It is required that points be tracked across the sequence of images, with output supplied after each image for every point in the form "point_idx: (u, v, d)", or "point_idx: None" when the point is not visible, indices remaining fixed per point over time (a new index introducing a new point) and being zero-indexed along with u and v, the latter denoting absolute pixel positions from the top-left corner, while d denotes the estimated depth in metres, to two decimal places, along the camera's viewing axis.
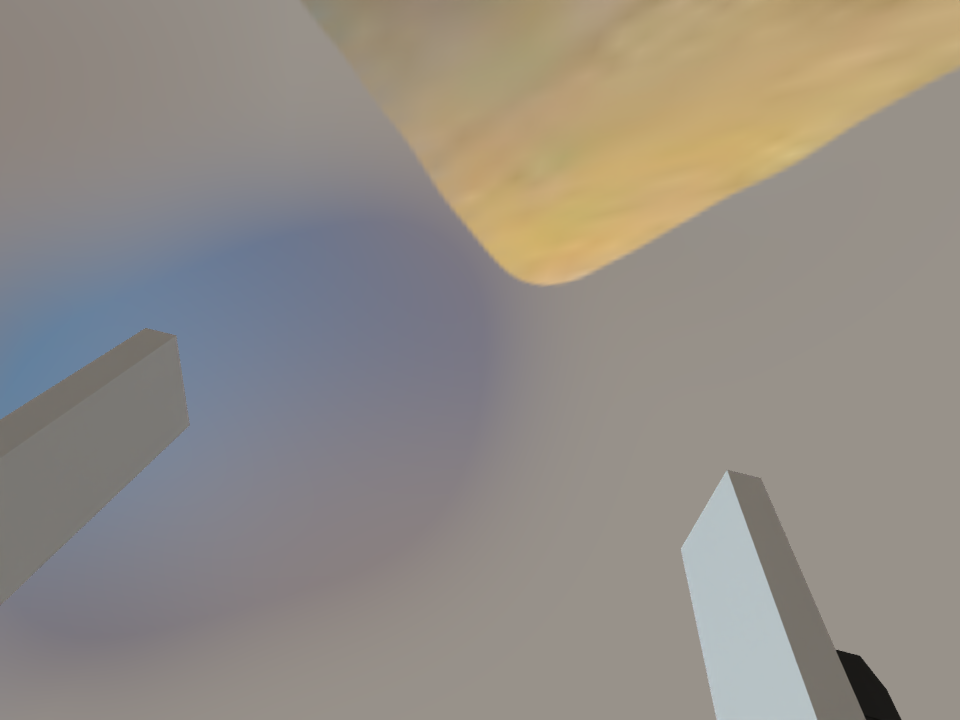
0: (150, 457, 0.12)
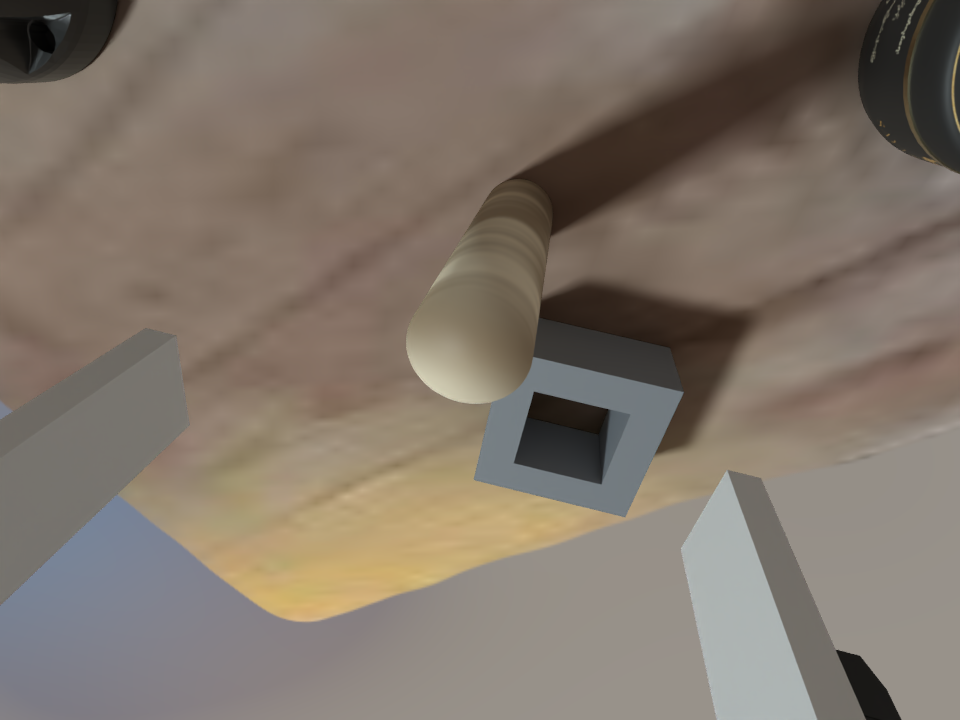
0: (151, 457, 0.12)
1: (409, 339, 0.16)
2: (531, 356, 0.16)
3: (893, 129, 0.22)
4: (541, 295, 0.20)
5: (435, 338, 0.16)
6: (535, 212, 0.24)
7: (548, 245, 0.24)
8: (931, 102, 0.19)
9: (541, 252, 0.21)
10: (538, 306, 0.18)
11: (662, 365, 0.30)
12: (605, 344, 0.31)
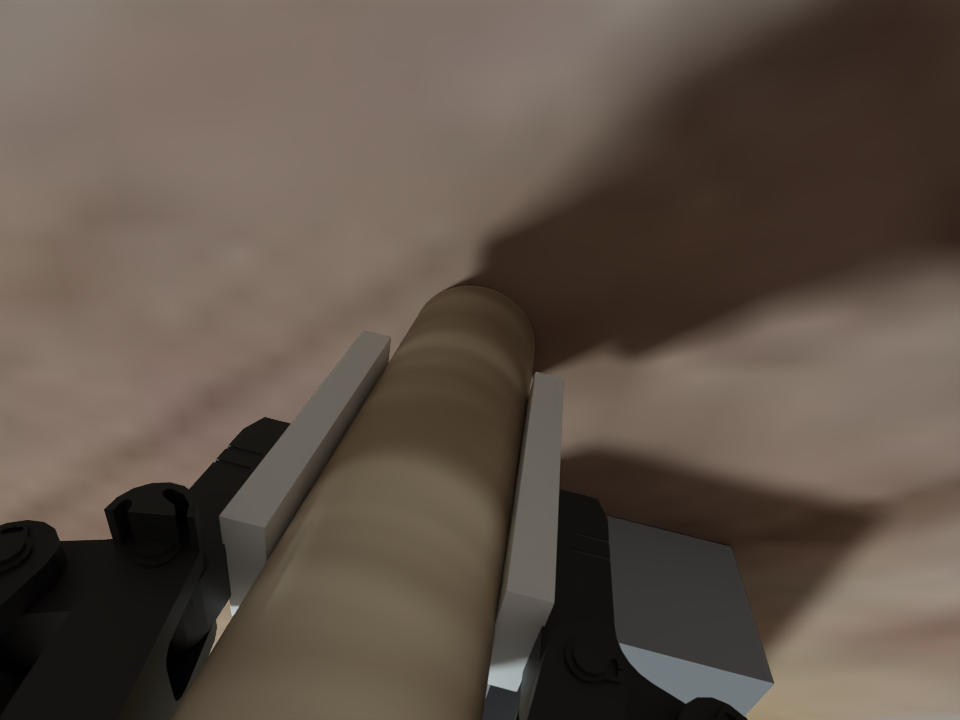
0: None
1: None
2: None
3: None
4: None
5: None
6: (490, 396, 0.12)
7: (517, 464, 0.12)
8: None
9: (489, 556, 0.09)
10: None
11: (725, 600, 0.17)
12: (626, 552, 0.18)
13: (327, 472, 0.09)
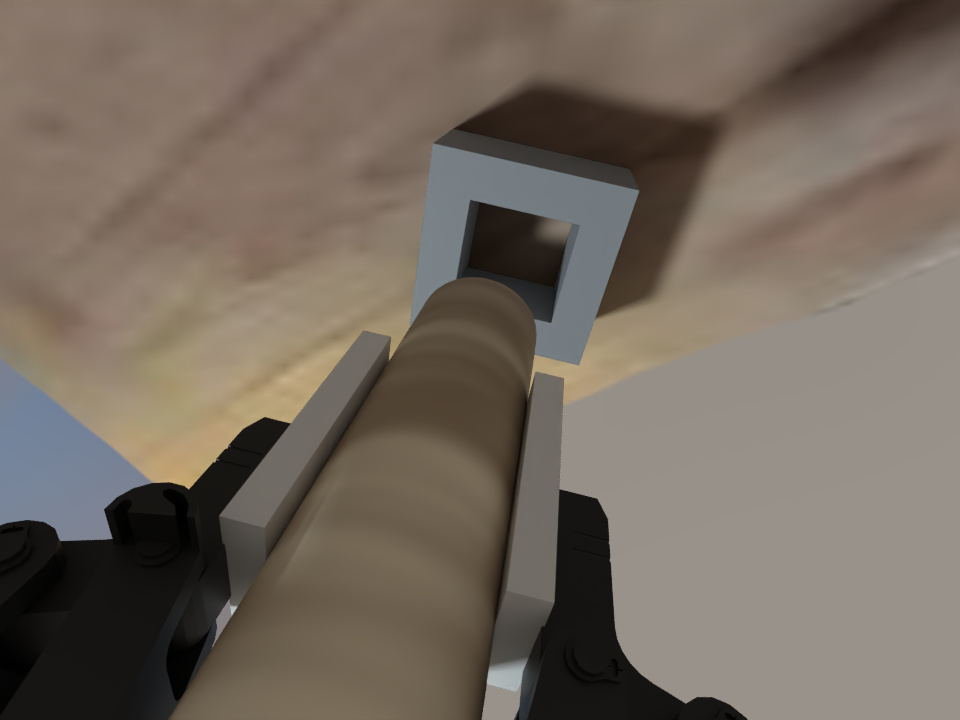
0: None
1: None
2: None
3: None
4: (482, 707, 0.07)
5: None
6: (494, 380, 0.12)
7: (520, 445, 0.12)
8: None
9: (494, 526, 0.09)
10: None
11: (618, 175, 0.27)
12: (555, 157, 0.27)
13: (340, 449, 0.10)
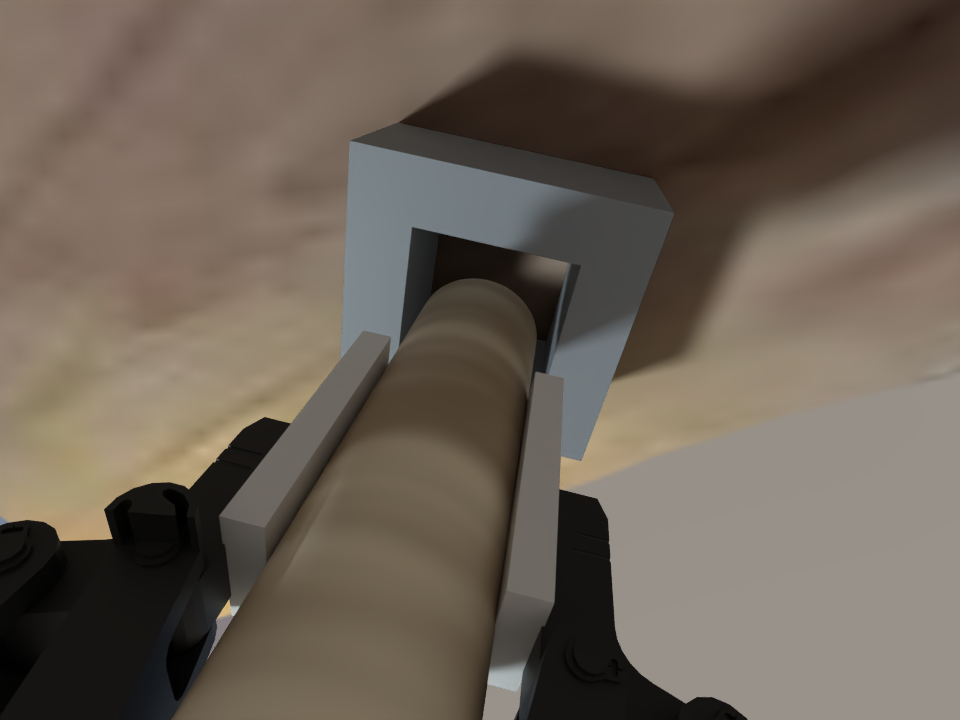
0: None
1: None
2: None
3: None
4: (483, 708, 0.07)
5: None
6: (494, 381, 0.12)
7: (520, 446, 0.12)
8: None
9: (494, 527, 0.09)
10: None
11: (638, 188, 0.18)
12: (544, 162, 0.18)
13: (341, 450, 0.10)
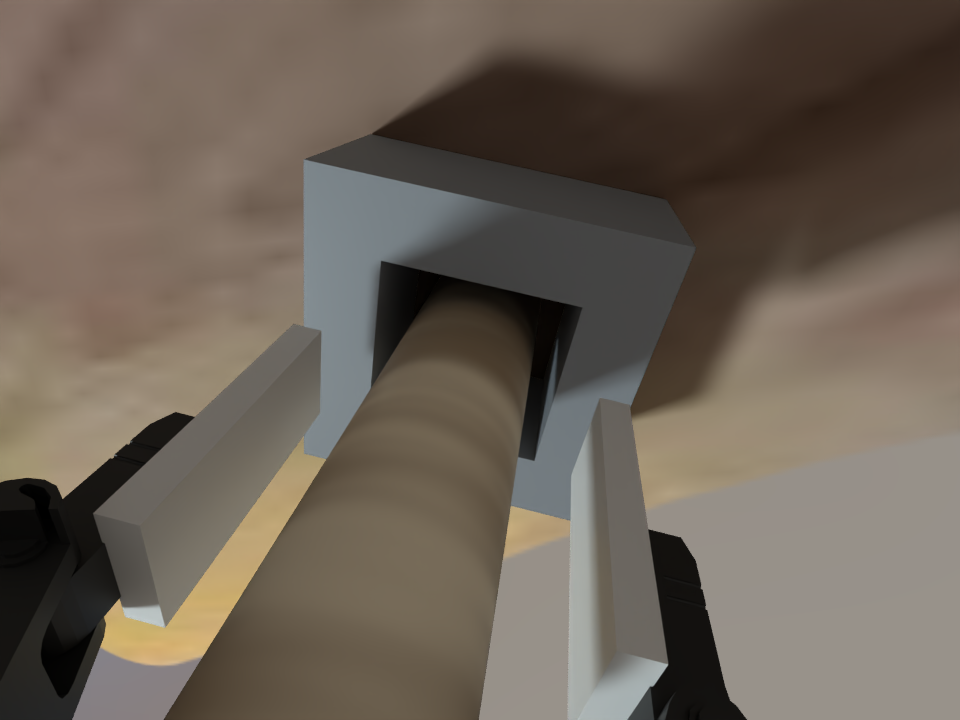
0: (295, 441, 0.14)
1: None
2: None
3: None
4: (502, 553, 0.10)
5: None
6: (506, 328, 0.14)
7: (528, 383, 0.14)
8: None
9: (509, 432, 0.11)
10: (489, 624, 0.08)
11: (650, 213, 0.15)
12: (538, 181, 0.16)
13: (383, 375, 0.12)
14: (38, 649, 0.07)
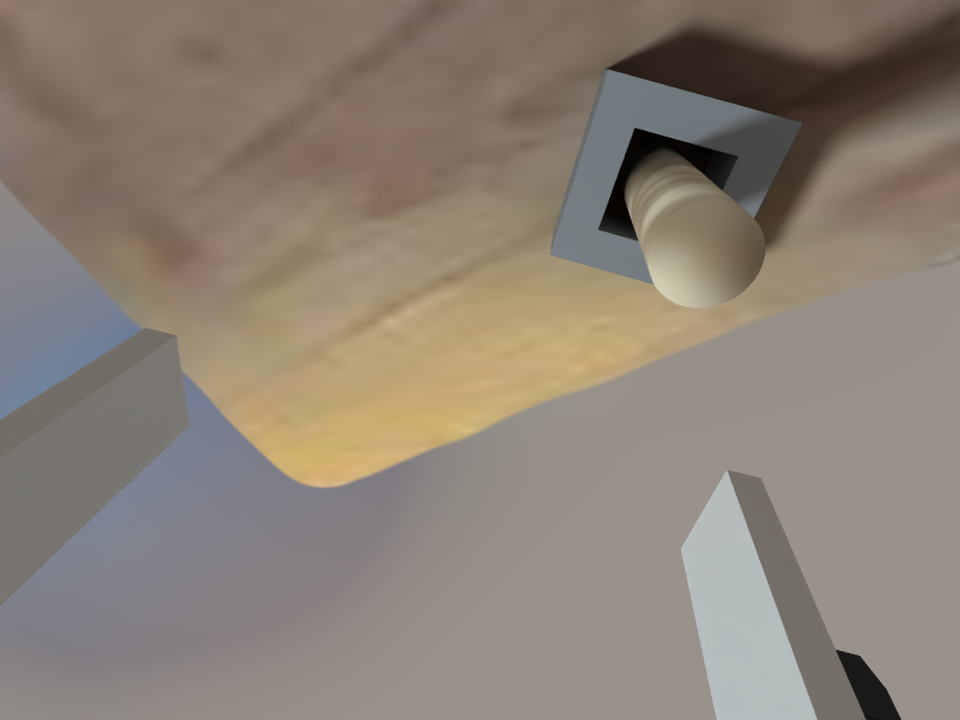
0: (150, 457, 0.12)
1: (654, 246, 0.19)
2: (760, 264, 0.19)
3: None
4: None
5: (678, 245, 0.19)
6: None
7: None
8: None
9: None
10: None
11: None
12: None
13: (651, 174, 0.25)
14: None
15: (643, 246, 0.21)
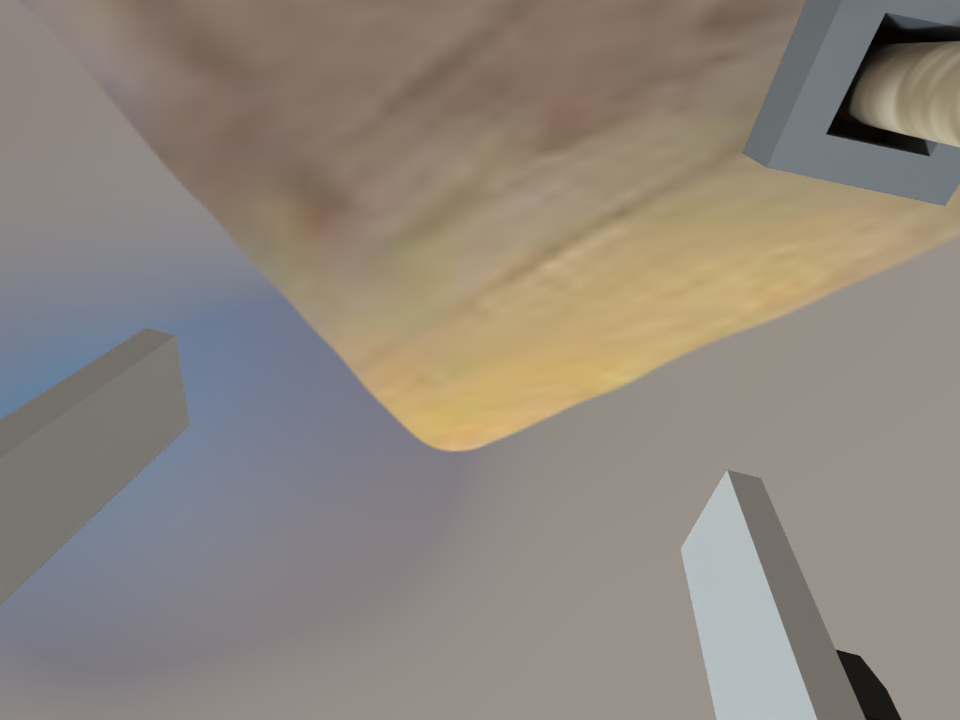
0: (150, 457, 0.12)
1: None
2: None
3: None
4: None
5: None
6: None
7: None
8: None
9: None
10: None
11: None
12: None
13: (926, 54, 0.23)
14: None
15: None
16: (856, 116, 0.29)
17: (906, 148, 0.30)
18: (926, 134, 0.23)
